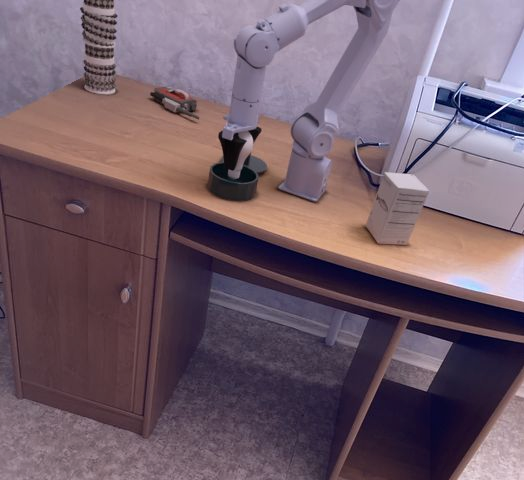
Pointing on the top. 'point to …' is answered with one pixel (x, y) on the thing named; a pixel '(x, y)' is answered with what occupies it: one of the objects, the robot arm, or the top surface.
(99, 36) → the decorative candle
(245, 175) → the dark bowl
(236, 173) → the lightbulb
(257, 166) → the pan lid
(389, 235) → the white packaging box
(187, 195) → the top surface
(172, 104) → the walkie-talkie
